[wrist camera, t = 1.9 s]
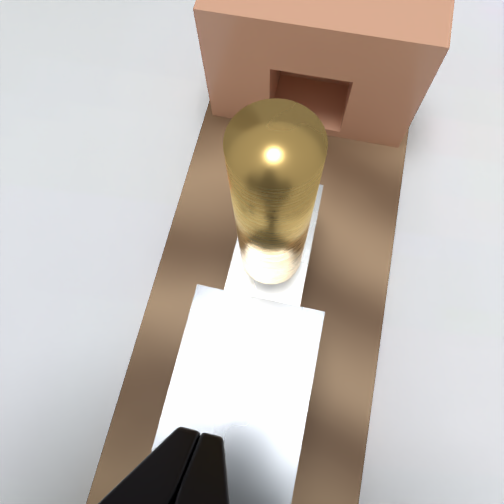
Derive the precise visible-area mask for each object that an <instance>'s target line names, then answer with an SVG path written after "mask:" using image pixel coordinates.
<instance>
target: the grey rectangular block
mask: <svg viewBox="0 0 504 504" xmlns="http://www.w3.org/2000/svg"><path fill="white" fill-rule="evenodd" d="M324 315H325V312H324V311H319V310H314V309H310V308H305V307H300V306H296V305H291V304H287V303H282V302H277V301H273V300H268V299H263V298H259V297H254V296H249V295H245V294H240V293H235V292H231V291H226V290H221V289H217V288H212V287H208V286H203V285H198V284H197V287H196V290H195V294H194V298H193V301H192V305H191V309H190V312H189V316H188V320H187V323H186V327H185V331H184V334H183V338H182V341H181V345H180V349H179V352H178V356H177V360H176V363H175V367H174V371H173V374H172V378H171V382H170V385H169V389H168V393H167V396H166V400H165V403H164V407H163V411H162V414H161V418H160V422H159V425H158V429H157V433H156V436H155V440H154V444H153V447H152V451H153V450H154V449H155V448H156V447H158V446H159V445H160V444H161V443H162V442H163V441H164V440H165V439H166V438H167V437H168V436H169V435H170V434H171V433H172V432H173V431H174V430H175V429H177V428H178V427H185V428H189V429H193V430H197V431H199V432H200V435H201V434H202V433H210V434H214V435H218V436H221V437H222V438H223V440H224V448H225V458H226V468H227V478H228V488H229V498H230V504H291V502H292V496H293V490H294V485H295V479H296V473H297V468H298V462H299V456H300V451H301V445H302V439H303V434H304V428H305V422H306V417H307V411H308V405H309V400H310V394H311V388H312V383H313V377H314V372H315V366H316V360H317V355H318V349H319V343H320V338H321V332H322V326H323V321H324ZM152 451H151V452H152Z"/></svg>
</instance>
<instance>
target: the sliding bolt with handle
mask: <svg viewBox="0 0 504 504" xmlns="http://www.w3.org/2000/svg"><path fill="white" fill-rule="evenodd" d="M327 150H328V138H327V133H326V130H325V127H324V125H323V124H322V122H321V120H320V119H319V118H318V117H317V115H316V114H315V113H314V112H312V111H311V110H310V109H309V108H307V107H305V106H304V105H302V104H300V103H297V102H295V101H291V100H287V99H280V98H272V99H264V100H260V101H257V102H254V103H251V104H249V105H247V106H246V107H244V108H242V109H241V110H240V111H239V112H237V113H236V114H235V116H234V117H233V118H232V119H231V120H230V122H229V124H228V126H227V127H226V130H225V133H224V137H223V151H224V157H225V163H226V169H227V175H228V181H229V187H230V193H231V199H232V205H233V211H234V217H235V223H236V229H237V235H238V237H237V241H236V245H235V249H234V253H233V257H232V261H231V265H230V269H229V273H228V277H227V280H226V284H225V288H224V290H226V291H231V292H235V293H240V294H245V295H249V296H254V297H259V298H263V299H268V300H273V301H277V302H282V303H287V304H291V305H296V306H300V303H301V298H302V292H303V287H304V282H305V277H306V272H307V267H308V262H309V257H310V252H311V246H312V241H313V236H314V231H315V226H316V221H317V216H318V211H319V206H320V200H321V195H322V190H323V185H320V180H321V176H322V171H323V167H324V163H325V159H326V155H327Z"/></svg>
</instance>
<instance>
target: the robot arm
mask: <svg viewBox="0 0 504 504" xmlns="http://www.w3.org/2000/svg"><path fill="white" fill-rule="evenodd" d="M98 504H230V498H229V488H228V478H227V468H226V458H225V448H224V440H223V438H222V437H221V436H218V435H214V434H210V433H202V434H201V435H200V432H199V431H197V430H193V429H189V428H185V427H178V428H177V429H175V430H174V431H173V432H172V433H171V434H170V435H169V436H168V437H167V438H166V439H165V440H164V441H163V442H162V443H161V444H160V445H159V446H158V447H156V448H155V449H154V450H153V451H152V452H151V453H150V454H149V455H148V456H147V457H146V458H145V459H144V460H143V461H142V462H141V463H140V464H139V465H138V466H137V467H136V468H134V469H133V470H132V471H131V472H130V473H129V474H128V475H127V476H126V477H125V478H124V479H123V480H122V481H121V482H120V483H119V484H118V485H117V486H116V487H115V488H114V489H112V490H111V491H110V492H109V493H108V494H107V495H106V496H105V497H104V498H103V499H102V500H101V501H100V502H99V503H98Z"/></svg>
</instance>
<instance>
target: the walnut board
mask: <svg viewBox="0 0 504 504" xmlns="http://www.w3.org/2000/svg"><path fill="white" fill-rule="evenodd" d="M231 119H232V118H226V117H220V116H215V115H212V110H211V104H210V101H209V104H208V108H207V111H206V114H205V117H204V121H203V124H202V127H201V130H200V134H199V137H198V140H197V143H196V147H195V150H194V153H193V156H192V160H191V163H190V166H189V170H188V173H187V176H186V179H185V183H184V186H183V189H182V192H181V196H180V199H179V202H178V205H177V209H176V212H175V215H174V218H173V222H172V225H171V228H170V232H169V235H168V238H167V241H166V245H165V248H164V251H163V254H162V258H161V261H160V264H159V267H158V271H157V274H156V277H155V280H154V284H153V287H152V290H151V294H150V297H149V300H148V303H147V307H146V310H145V313H144V316H143V320H142V323H141V326H140V329H139V333H138V336H137V339H136V342H135V346H134V349H133V352H132V356H131V359H130V362H129V365H128V369H127V372H126V375H125V378H124V382H123V385H122V388H121V391H120V395H119V398H118V401H117V404H116V408H115V411H114V414H113V418H112V421H111V424H110V427H109V431H108V434H107V437H106V440H105V444H104V447H103V450H102V453H101V457H100V460H99V463H98V466H97V470H96V473H95V476H94V480H93V483H92V486H91V489H90V493H89V496H88V499H87V502H86V504H98V503H99V502H100V501H101V500H102V499H103V498H104V497H105V496H106V495H107V494H108V493H109V492H110V491H111V490H112V489H114V488H115V487H116V486H117V485H118V484H119V483H120V482H121V481H122V480H123V479H124V478H125V477H126V476H127V475H128V474H129V473H130V472H131V471H132V470H133V469H134V468H136V467H137V466H138V465H139V464H140V463H141V462H142V461H143V460H144V459H145V458H146V457H147V456H148V455H149V454H150V453H151V451H152V447H153V444H154V440H155V436H156V433H157V429H158V425H159V422H160V418H161V414H162V411H163V407H164V403H165V400H166V396H167V393H168V389H169V385H170V382H171V378H172V374H173V371H174V367H175V363H176V360H177V356H178V352H179V349H180V345H181V341H182V338H183V334H184V331H185V327H186V323H187V320H188V316H189V312H190V309H191V305H192V301H193V298H194V294H195V290H196V287H197V284H198V285H203V286H208V287H212V288H217V289H221V290H224V288H225V284H226V280H227V277H228V273H229V269H230V265H231V261H232V257H233V253H234V249H235V245H236V241H237V237H238V235H237V229H236V223H235V217H234V211H233V205H232V199H231V193H230V187H229V181H228V175H227V169H226V163H225V157H224V151H223V137H224V133H225V130H226V127H227V126H228V124H229V122H230V120H231ZM408 129H409V128H408ZM407 137H408V130H407V132H406V134H405V136H404V138H403V139H402V141H401V143H400V145H399V147H398V148H397V147H391V146H386V145H380V144H374V143H368V142H363V141H357V140H351V139H346V138H340V137H334V136H329V135H327V138H328V150H327V155H326V159H325V163H324V167H323V171H322V176H321V180H320V185H323V190H322V195H321V200H320V206H319V211H318V216H317V221H316V226H315V231H314V236H313V241H312V246H311V252H310V257H309V262H308V267H307V272H306V277H305V282H304V287H303V292H302V298H301V303H300V307H305V308H310V309H314V310H319V311H324V312H325V315H324V321H323V326H322V332H321V338H320V343H319V349H318V355H317V360H316V366H315V372H314V377H313V383H312V388H311V394H310V400H309V405H308V411H307V417H306V422H305V428H304V434H303V439H302V445H301V451H300V456H299V462H298V468H297V473H296V479H295V485H294V490H293V496H292V502H291V504H358V502H359V495H360V487H361V480H362V472H363V465H364V458H365V450H366V443H367V435H368V428H369V420H370V413H371V405H372V398H373V390H374V383H375V376H376V368H377V361H378V353H379V346H380V338H381V331H382V323H383V316H384V308H385V301H386V294H387V286H388V279H389V271H390V264H391V256H392V249H393V241H394V234H395V226H396V219H397V211H398V204H399V197H400V189H401V182H402V174H403V167H404V159H405V152H406V144H407Z"/></svg>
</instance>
